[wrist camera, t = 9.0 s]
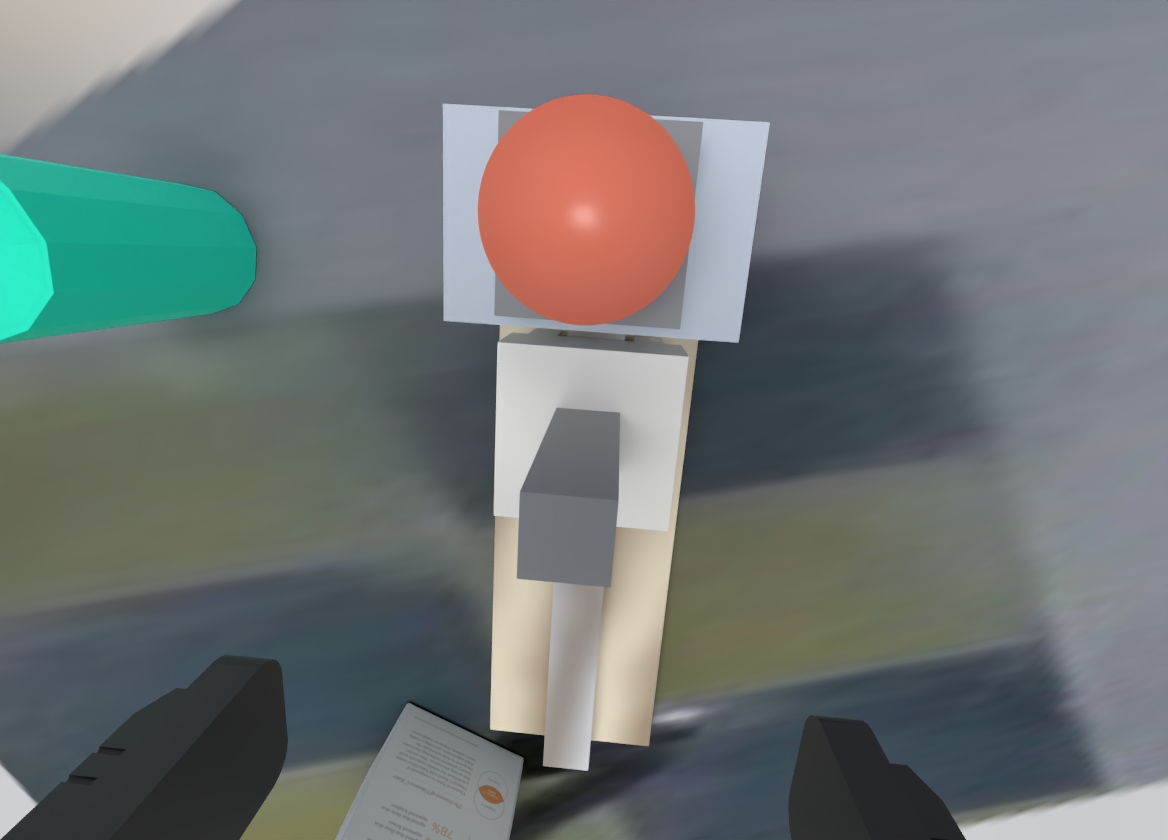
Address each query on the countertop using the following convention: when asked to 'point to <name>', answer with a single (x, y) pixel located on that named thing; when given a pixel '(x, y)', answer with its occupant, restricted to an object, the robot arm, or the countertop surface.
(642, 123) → the button
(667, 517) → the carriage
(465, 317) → the push button housing
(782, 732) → the countertop surface
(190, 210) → the candle
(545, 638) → the rail
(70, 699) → the countertop surface
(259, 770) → the robot arm
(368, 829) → the small box
